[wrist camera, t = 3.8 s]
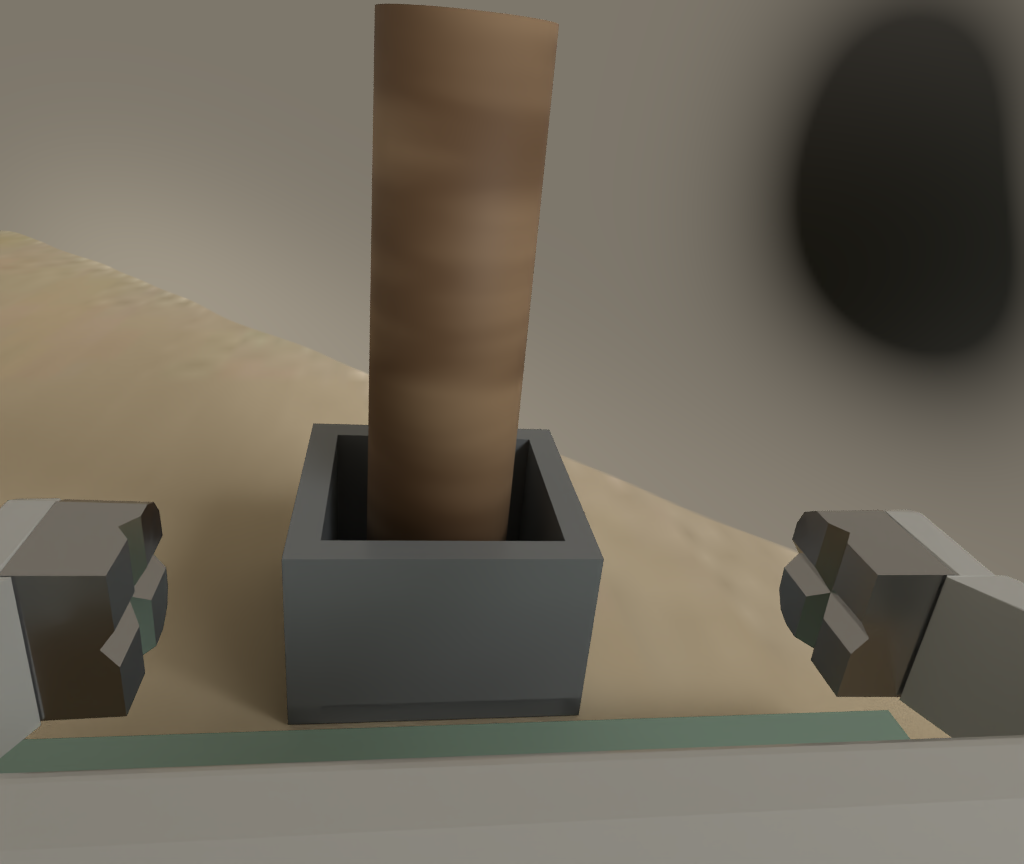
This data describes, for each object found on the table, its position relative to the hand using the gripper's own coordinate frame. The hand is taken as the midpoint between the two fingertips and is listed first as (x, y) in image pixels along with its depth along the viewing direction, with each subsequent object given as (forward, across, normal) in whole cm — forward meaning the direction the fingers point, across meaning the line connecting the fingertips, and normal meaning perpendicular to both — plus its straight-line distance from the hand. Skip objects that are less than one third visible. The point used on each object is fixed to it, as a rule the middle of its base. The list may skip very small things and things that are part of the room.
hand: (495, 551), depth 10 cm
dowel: (+11, 0, +9) cm, 14 cm away
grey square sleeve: (+11, 0, +10) cm, 15 cm away
